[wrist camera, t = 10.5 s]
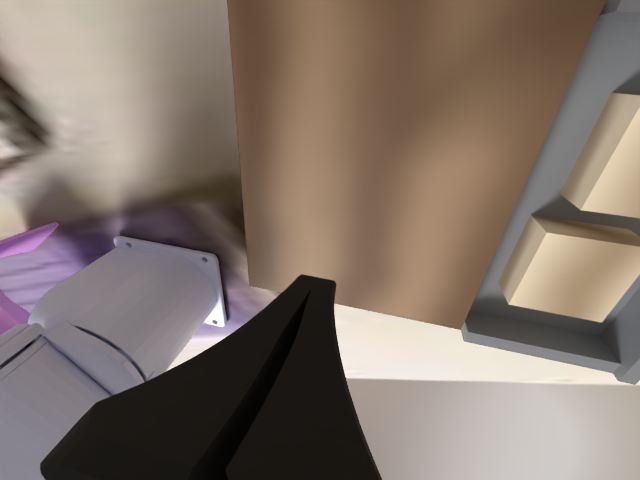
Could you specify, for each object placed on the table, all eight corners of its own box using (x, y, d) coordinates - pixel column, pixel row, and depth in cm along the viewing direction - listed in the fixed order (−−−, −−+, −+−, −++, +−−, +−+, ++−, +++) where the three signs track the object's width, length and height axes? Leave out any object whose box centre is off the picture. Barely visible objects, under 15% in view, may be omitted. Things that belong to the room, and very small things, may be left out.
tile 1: (497, 282, 18) (508, 304, 16) (530, 214, 15) (546, 232, 14) (581, 297, 17) (601, 322, 15) (629, 229, 15) (659, 249, 13)
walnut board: (265, 261, 23) (249, 285, 20) (255, 1, 15) (226, -14, 12) (453, 297, 21) (460, 329, 18) (564, 13, 12) (607, -2, 10)
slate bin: (454, 302, 21) (465, 347, 17) (574, 1, 12) (641, -25, 9) (594, 329, 19) (634, 384, 16) (841, 9, 11) (1042, -18, 7)
